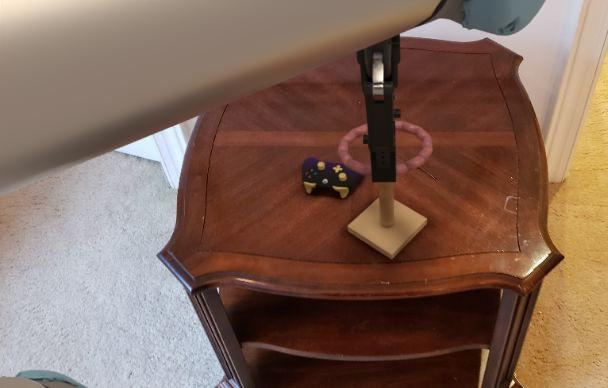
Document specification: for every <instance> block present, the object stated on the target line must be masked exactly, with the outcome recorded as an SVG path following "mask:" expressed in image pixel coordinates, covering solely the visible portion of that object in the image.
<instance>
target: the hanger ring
mask: <svg viewBox="0 0 608 388" xmlns="http://www.w3.org/2000/svg"><path fill="white" fill-rule="evenodd" d="M394 121H395V131H399V132H400V131H401V132H405V133H407V134H411V135H413V136H415V137H416V138H417V139H418V140H420V142H421V145H422V146H421V147H422V149H421V150H420V151H419V152H418V154H417V155H416V156H414V157H411V158H410V159H409V160H406V161H404V162H402V163H396V176H399V175H405V174H407V173H409V172H411V171H413V170H416V169H417V168H419V167H421V166H423V165H425V163H426V162H427V160H428V159H429V158H430V156H431V155H432V153H433V152H434V149H433V138H432V136H431V135H430V134H429V133H428V132H427V131H426V130H425V129H423V127H421V126H419V125H416V124H413V123H410V122H408V121H405V120H394ZM363 135H368V127H367V122H366V123H364V124H362V125H360V126H357V127H355V128H353V129H350V130H349V131H348V132H347V133H346V134H345V135H344V136H343V137H342V138H341V139H340V140H339V142H338V148H337V149H338V150H337V157H338V158H339V160H340V161H341V162H342V164H344V165H345V166H346V167H347V168H348V169H350V170H353V171H355V172H357V173H360V174H362V175H363V176H367V177H369V176H370V177H372V173H371V164H366V163H362V162H360V161H357V160H356V159H353V156H351V154H350V153H349V148H350V147H349V146H350V145H352V143H353V142H354V141H356V139H358V138H360V137H363Z"/></svg>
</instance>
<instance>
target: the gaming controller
mask: <svg viewBox="0 0 608 388" xmlns="http://www.w3.org/2000/svg"><path fill="white" fill-rule="evenodd" d="M363 177H364V175H362V174H360V173H357V172H355V171H353V170H350V169H348V168H347V167H346V166H345V165H344V164H343V163H338V162H333V161H332V162H331V161H324V160H319V159H318V158H316V157H315V156H309V157H307V158H305V160H303V163H302V166H301V181H302V183H303V185H304V188H305V192H306V193H308V194H311V193H312V192H313V191H314V190H315V189H324V190H329V191H336V192H338V193H339V195H340V198H342V199H344V198H346V197H347V196H348V194H349V193H350V192H351V191H352V189H353V188H354V187H355V186H356V185H357V184H358V183H359V181H360V180H362V179H363Z"/></svg>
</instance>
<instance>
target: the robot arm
mask: <svg viewBox="0 0 608 388" xmlns="http://www.w3.org/2000/svg"><path fill="white" fill-rule="evenodd" d="M546 1H547V0H0V197H4V196H5V195H8V194H10V193H13V192H16V191H18V190H21V189H23V188H25V187H28V186H31V185H33V184H36V183H38V182H40V181H42V180H46V179H47V178H50V177H53V176H55V175H58V174H60V173H63V172H64V171H68V170H70V169H72V168H75V167H76V166H79V165H82V164H85V163H87V162H89V161H91V160H94V159H96V158H99V157H101V156H104V155H106V154H110V153H111V152H113V151H116V150H119V149H121V148H123V147H125V146H128V145H131V144H133V143H136V142H138V141H141V140H143V139H145V138H148V137H150V136H154V135H155V134H158V133H160V132H163V131H165V130H167V129H170V128H172V127H175V126H178V125H180V124H182V123H185V122H188V121H190V120H192V119H195V118H198V117H200V116H202V115H204V114H207V113H209V112H212V111H214V110H216V109H219V108H221V107H224V106H227V105H229V104H231V103H234V102H236V101H239V100H242V99H244V98H246V97H248V96H251V95H254V94H256V93H259V92H261V91H263V90H267V89H269V88H271V87H273V86H276V85H278V84H280V83H284V82H285V81H288V80H290V79H293V78H295V77H298V76H301V75H302V74H305V73H308V72H310V71H312V70H315V69H317V68H320V67H322V66H325V65H327V64H330V63H332V62H335V61H337V60H340V59H342V58H345V57H346V56H350V55H352V54H354V53H356V62H357V64H358V65H359V68H360V69H359V71H360V82H361V92H362V93H363V98H364V103H365V113H366V115H365V116H366V123H367V127H368V133H367V134H365V135H363V136H362V145H367V148H368V151H369V155H370V157H369V158H370V165H371V173H372V176H371V183H378V182H394V183H397V175H396V164H397V143H396V142H397V140H396V139H397V137H396V135H397V134H396V130H395V121H396V120H394V119H401V118H402V117H401V116H402V110H401V108H395V106H394V105H395V104H394V102H395V100H396V95H395V93H394V92H395V89H397V88H398V86H399V64H400V63H401V34H403V33H405V32H407V31H410V30H414V29H416V28H419V27H421V26H424V25H427V24H430V23H432V22H435V21H437V20H439V19H441V20H448V21H451V22H454V23H456V24H458V25H461V27H462V28H463V29H467V30H468V31H470V30H477V31H480V32H483V33H487V34H491V35H495V36H501V37H509V36H512V35H515V34H517V33H519V32H520V31H522V30H523V29H525V28H526V27H527V26H528V25H529V24H530V23H531V22H532V21H533V19H534V18H535V17H536V16H537V15H538V13H539V12H540V10H541V9H542V7H543V6H544V4H545V2H546ZM0 388H88V387H87V386H85V385H84V384H82V383H80V382H79V381H77V380H75V379H73V378H72V377H70V376H68V375H66V374H64V373H61V372H57V371H53V370H47V369H29V370H28V369H27V370H22V371H21V370H20V371H18V372H17V374H16V375H15V376H6V375H3V376H0Z"/></svg>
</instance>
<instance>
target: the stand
mask: <svg viewBox="0 0 608 388" xmlns="http://www.w3.org/2000/svg"><path fill="white" fill-rule="evenodd" d="M377 187H378V197H377V198H376V199H375V200H374V201H373V202H372V203H371V204H370V205H368V206H367V208H366V209H364V210H363V211H362V212H361V213H360V214H359V215H358V216H357V217H356V218H355V219H353V220H352V221H351V222H350V223H349V224H348V225H347V227H346V228H347V232H349V233H350V234H352V235H353V236H354V237H356V238H358V239H359V240H360V241H362V242H364V243H365V244H367V245H368V246H369V247H371V248H373V249H375V250H376V251H378V252H379V253H381V254H382V255H384V256H385V257H387V258H388V259H390V261H391V260H393V259H394V258H395V257H396V256H397V255H398V254H399V253H400V252H401V251H402V250H403V249H404V248H405V247H406V246H407V245H408V244H409V243H410V241H412V240H413V239H414V238H415V237H416V235H418V233H420V231H422V230H423V228H424V227H425V226H426V225H427V224H428V218H426V217H425V216H424V215H422V214H421V213H418V212H416V211H415V210H413V209H411V208H410V207H408V206H406V205H405V204H403V203H401V201H400V202H399V201H398V200H396V199H395V182H377Z"/></svg>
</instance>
